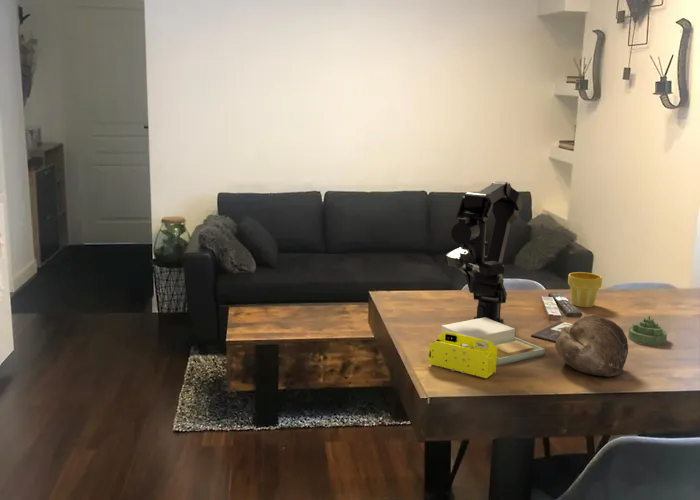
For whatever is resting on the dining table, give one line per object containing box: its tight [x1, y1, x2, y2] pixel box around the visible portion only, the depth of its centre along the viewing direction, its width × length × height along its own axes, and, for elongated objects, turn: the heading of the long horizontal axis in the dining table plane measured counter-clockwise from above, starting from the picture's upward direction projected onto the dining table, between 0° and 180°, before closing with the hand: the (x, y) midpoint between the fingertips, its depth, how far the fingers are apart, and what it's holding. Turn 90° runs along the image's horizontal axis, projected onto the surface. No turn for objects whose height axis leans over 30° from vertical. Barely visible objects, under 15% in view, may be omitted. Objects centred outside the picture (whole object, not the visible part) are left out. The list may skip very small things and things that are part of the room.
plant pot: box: [567, 271, 603, 308], centre depth 245 cm, size 10×10×10 cm
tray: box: [482, 336, 545, 366], centre depth 199 cm, size 16×11×2 cm
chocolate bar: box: [530, 321, 573, 344], centre depth 217 cm, size 9×1×18 cm
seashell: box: [554, 313, 629, 378], centre depth 189 cm, size 16×17×15 cm
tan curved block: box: [495, 341, 534, 358], centre depth 197 cm, size 9×6×2 cm, turn 123°
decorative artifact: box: [627, 315, 668, 346], centre depth 212 cm, size 10×7×10 cm
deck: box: [440, 317, 516, 343], centre depth 208 cm, size 16×12×4 cm
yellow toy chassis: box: [427, 331, 497, 379], centre depth 186 cm, size 16×6×8 cm, turn 55°
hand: (472, 292), depth 212 cm, fingers closed
